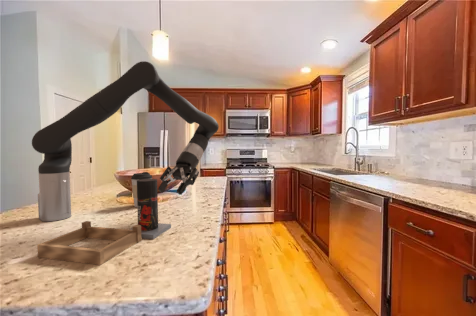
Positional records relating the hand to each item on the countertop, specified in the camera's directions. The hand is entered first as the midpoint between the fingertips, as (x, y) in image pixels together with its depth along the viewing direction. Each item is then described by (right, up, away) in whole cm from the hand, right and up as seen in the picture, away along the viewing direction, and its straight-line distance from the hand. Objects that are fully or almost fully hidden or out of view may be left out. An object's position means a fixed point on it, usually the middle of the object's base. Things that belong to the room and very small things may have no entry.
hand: (169, 192), depth 82 cm
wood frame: (-14, -12, -19) cm, 27 cm away
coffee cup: (-20, -10, +27) cm, 35 cm away
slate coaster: (-4, -11, -7) cm, 14 cm away
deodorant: (-4, -10, -7) cm, 13 cm away
